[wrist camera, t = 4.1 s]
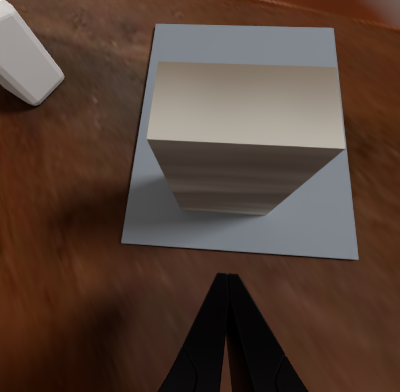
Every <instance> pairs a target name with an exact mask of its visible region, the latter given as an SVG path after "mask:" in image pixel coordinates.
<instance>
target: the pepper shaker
mask: <svg viewBox="0 0 400 392" xmlns="http://www.w3.org/2000/svg"><path fill="white" fill-rule="evenodd" d="M63 79H64V74H63V72H62V71H61V69H60V68H59V67H58V65H57V64H56V63H55V61H54V60H53V59H52V57H51V56H50V55H49V54H48V52H47V51H46V50H45V48H44V47H43V46H42V44H41V43H40V42H39V40H38V39H37V38H36V36H35V35H34V34H33V32H32V31H31V30H30V28H29V27H28V26H27V24H26V23H25V22H24V20H23V19H22V18H21V16H20V15H19V14H18V13H17V11H16V10H15V9H14V7H13V6H12V5H11V4H10V3H8V2H7V1H5V0H0V85H2V86H3V87H4V88H5V89H7V90H8V91H10V92H11V93H13V94H14V95H16V96H17V97H19V98H20V99H22V100H23V101H25V102H27V103H28V104H31V105H34V106H37V105H39V104H41V103H42V102H43V101H44V100H45V99H46V98H47V97H48V95H49V94H50V93H51V92H52V91H53V90H54V89H55V88H56V87H57V86H58V85H59V84H60V83H61V82H62V81H63Z"/></svg>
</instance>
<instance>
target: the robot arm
mask: <svg viewBox="0 0 400 392" xmlns="http://www.w3.org/2000/svg"><path fill="white" fill-rule="evenodd" d="M225 337H226V340H227V349H228V358H229V367H230V376H231V386H232V392H308V390H307V389H306V387H305V386H304V384H303V383H302V381H301V379H300V378H299V376H298V375H297V373H296V371H295V370H294V368H293V366H292V365H291V363H290V361H289V360H288V358H287V356H285V353H284V351H283V350H282V348H281V346H280V344H279V343H278V341H277V339H276V338H275V336H274V334H273V333H272V331H271V329H270V327H269V326H268V324H267V322H266V321H265V319H264V317H263V316H262V314H261V312H260V310H259V309H258V307H257V305H256V304H255V302H254V300H253V298H252V297H251V295H250V293H249V292H248V290H247V288H246V287H245V285H244V283H243V281H242V280H241V278H240V276H239V275H238V274H233V273H229V274H228V275H227V273H217V274H216V276H215V278H214V280H213V282H212V285H211V287H210V289H209V291H208V293H207V295H206V297H205V299H204V301H203V304H202V306H201V308H200V310H199V312H198V314H197V316H196V318H195V320H194V323H193V325H192V327H191V329H190V331H189V333H188V335H187V337H186V339H185V342H184V344H183V347H182V348H181V350H180V352H179V354H178V356H177V358H176V360H175V362H174V364H173V366H172V368H171V370H170V372H169V373H168V375H167V377H166V379H165V380H164V382H163V384H162V385H161V387H160V389H159V390H158V392H220V382H221V373H222V364H223V355H224V346H225ZM284 356H285V357H284Z"/></svg>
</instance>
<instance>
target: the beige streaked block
mask: <svg viewBox="0 0 400 392" xmlns="http://www.w3.org/2000/svg"><path fill="white" fill-rule="evenodd" d="M147 141H148V143H149V145H150V147H151V149H152V151H153V153H154V156H155V158H156V160H157V162H158V164H159V166H160V168H161V170H162V172H163V174H164V176H165V178H166V180H167V182H168V184H169V186H170V188H171V190H172V192H173V194H174V196H175V198H176V201H177V203H178V205H179V207H180V209H181V210H188V211H204V212H220V213H236V214H252V215H267V214H268V213H269V212H271V211H272V210H273V209H274V208H275V207H277V206H278V205H279V204H280V203H281V202H283V201H284V200H285V199H286V198H287V197H288V196H290V195H291V194H292V193H293V192H294V191H296V190H297V189H298V188H299V187H300V186H302V185H303V184H304V183H305V182H306V181H308V180H309V179H310V178H311V177H312V176H314V175H315V174H316V173H317V172H318V171H319V170H321V169H322V168H323V167H324V166H325V165H327V164H328V163H329V162H330V161H331V160H333V159H334V158H335V157H336V156H337V155H339V154H340V153H341V152H342V151H343V150H345V140H344V131H343V122H342V112H341V103H340V94H339V85H338V75H337V67H319V66H288V65H257V64H225V63H194V62H162V61H158V65H157V72H156V78H155V85H154V92H153V99H152V105H151V112H150V119H149V126H148V132H147Z"/></svg>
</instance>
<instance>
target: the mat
mask: <svg viewBox="0 0 400 392" xmlns="http://www.w3.org/2000/svg"><path fill="white" fill-rule="evenodd" d="M158 61H162V62H194V63H225V64H257V65H288V66H319V67H337V75H338V66H337V57H336V48H335V39H334V30H333V28H309V27H267V26H225V25H183V24H156V28H155V34H154V40H153V46H152V53H151V59H150V65H149V71H148V78H147V84H146V90H145V96H144V103H143V109H142V115H141V121H140V128H139V134H138V140H137V146H136V153H135V159H134V165H133V171H132V178H131V184H130V190H129V196H128V203H127V209H126V215H125V221H124V228H123V234H122V240H121V243H125V244H139V245H153V246H168V247H182V248H196V249H210V250H224V251H238V252H253V253H267V254H281V255H295V256H309V257H323V258H337V259H352V260H359V258H358V249H357V240H356V231H355V222H354V213H353V203H352V194H351V185H350V176H349V167H348V158H347V149H346V139H345V130H344V121H343V112H342V103H341V94H340V85H339V75H338V85H339V94H340V103H341V112H342V122H343V131H344V140H345V150H343V151H342V152H341V153H340V154H339V155H337V156H336V157H335V158H334V159H333V160H331V161H330V162H329V163H328V164H327V165H325V166H324V167H323V168H322V169H321V170H319V171H318V172H317V173H316V174H315V175H314V176H312V177H311V178H310V179H309V180H308V181H306V182H305V183H304V184H303V185H302V186H300V187H299V188H298V189H297V190H296V191H294V192H293V193H292V194H291V195H290V196H288V197H287V198H286V199H285V200H284V201H283V202H281V203H280V204H279V205H278V206H277V207H275V208H274V209H273V210H272V211H271V212H269V213H268V214H267V215H252V214H236V213H220V212H204V211H188V210H181V209H180V207H179V205H178V203H177V201H176V198H175V196H174V194H173V192H172V190H171V188H170V186H169V184H168V182H167V180H166V178H165V176H164V174H163V172H162V170H161V168H160V166H159V164H158V162H157V160H156V158H155V156H154V153H153V151H152V149H151V147H150V145H149V143H148V141H147V132H148V126H149V119H150V112H151V105H152V99H153V92H154V85H155V78H156V72H157V65H158Z"/></svg>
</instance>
